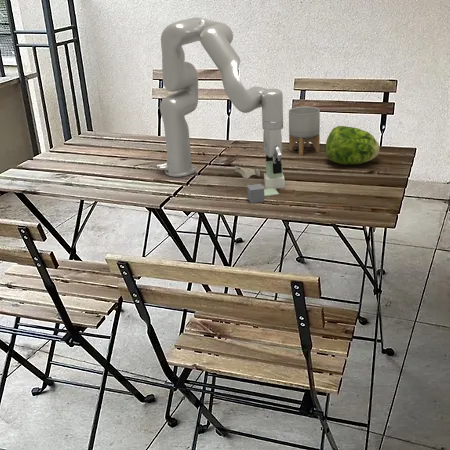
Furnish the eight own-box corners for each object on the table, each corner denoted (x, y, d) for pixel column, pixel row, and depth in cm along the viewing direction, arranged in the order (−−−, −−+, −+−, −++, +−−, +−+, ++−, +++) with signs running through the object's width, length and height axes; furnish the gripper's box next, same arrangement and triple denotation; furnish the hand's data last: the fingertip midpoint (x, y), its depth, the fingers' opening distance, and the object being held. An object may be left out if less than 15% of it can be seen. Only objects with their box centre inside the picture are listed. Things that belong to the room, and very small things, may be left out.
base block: (265, 189, 233) (265, 179, 231) (264, 183, 239) (263, 173, 238) (284, 188, 233) (284, 178, 232) (282, 181, 240) (282, 172, 238)
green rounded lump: (377, 176, 246) (390, 138, 242) (326, 162, 244) (338, 124, 240) (366, 168, 262) (378, 132, 258) (318, 155, 259) (330, 119, 255)
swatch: (262, 196, 226) (262, 195, 226) (258, 190, 232) (258, 189, 231) (278, 194, 227) (278, 193, 227) (274, 188, 232) (274, 187, 232)
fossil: (247, 180, 243) (246, 172, 241) (233, 173, 252) (233, 164, 250) (262, 177, 246) (262, 168, 244) (248, 169, 255) (248, 161, 253)
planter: (285, 154, 268) (285, 113, 260) (293, 145, 279) (293, 106, 271) (315, 156, 264) (315, 114, 256) (322, 147, 274) (322, 106, 267)
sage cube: (269, 178, 232) (269, 165, 230) (266, 174, 237) (265, 161, 235) (282, 177, 233) (282, 164, 231) (279, 172, 237) (278, 160, 235)
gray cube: (250, 203, 221) (250, 190, 219) (247, 198, 226) (247, 185, 224) (264, 201, 222) (264, 188, 220) (261, 196, 227) (260, 183, 225)
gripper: (256, 119, 234) (258, 163, 241) (268, 131, 218) (270, 178, 225) (276, 117, 235) (277, 160, 242) (289, 129, 219) (290, 175, 226)
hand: (273, 169), depth 234 cm, fingers open, 9 cm apart
